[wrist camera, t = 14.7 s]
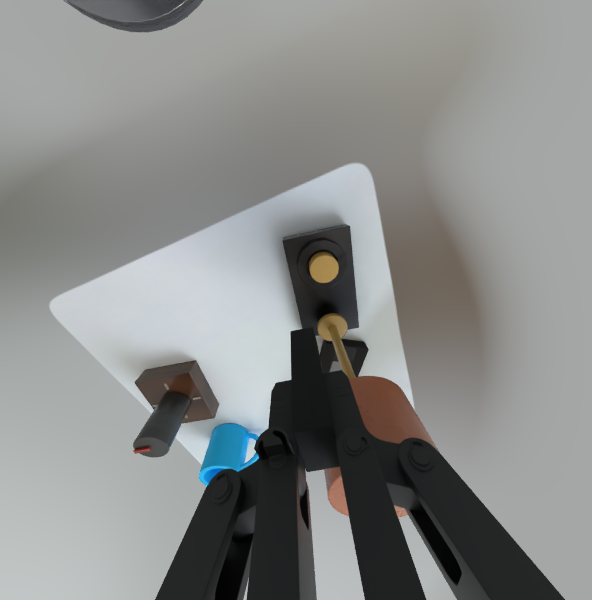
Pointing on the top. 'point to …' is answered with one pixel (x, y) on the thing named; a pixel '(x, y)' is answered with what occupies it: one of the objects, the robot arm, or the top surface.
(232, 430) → the mug
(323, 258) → the switch
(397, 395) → the lamp
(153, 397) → the dimmer panel
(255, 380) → the top surface
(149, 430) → the dimmer
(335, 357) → the vhs tape
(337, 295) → the lamp base
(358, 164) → the top surface
